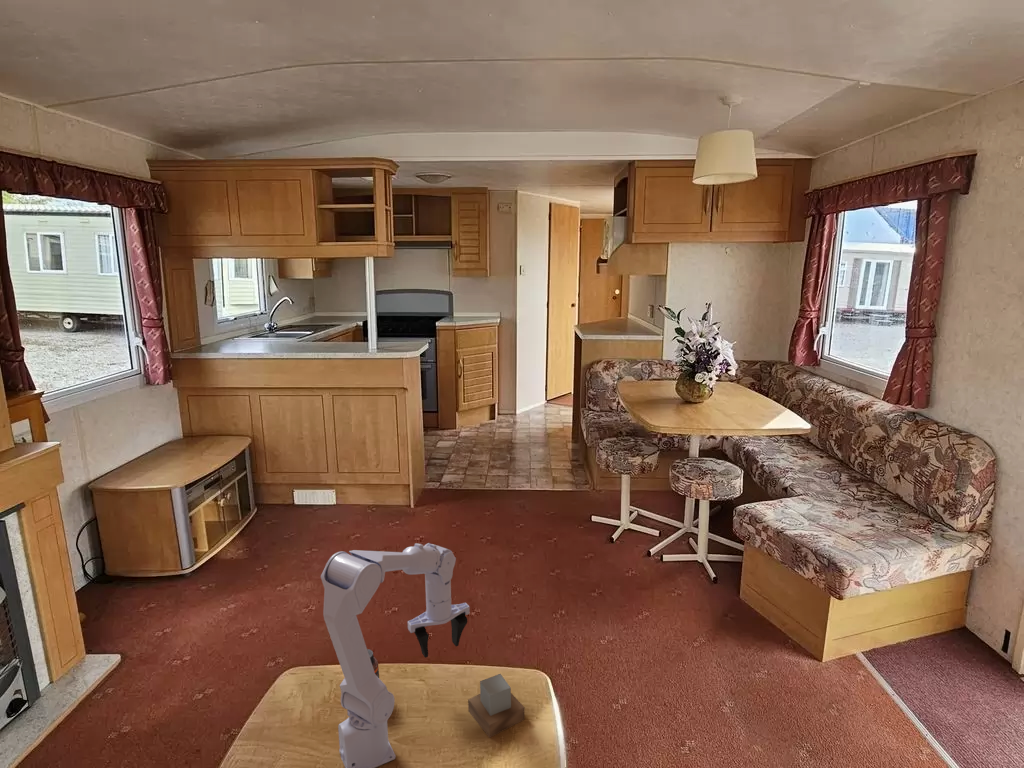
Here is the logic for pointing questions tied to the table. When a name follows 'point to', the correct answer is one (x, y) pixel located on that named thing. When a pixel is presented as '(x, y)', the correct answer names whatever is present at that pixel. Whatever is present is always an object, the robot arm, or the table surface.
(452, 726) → the table surface
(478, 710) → the walnut block
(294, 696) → the table surface
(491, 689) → the grey cube
